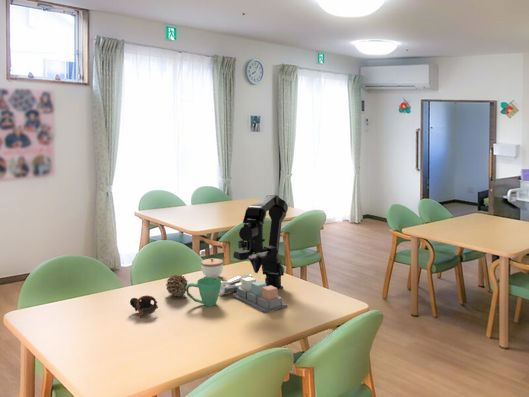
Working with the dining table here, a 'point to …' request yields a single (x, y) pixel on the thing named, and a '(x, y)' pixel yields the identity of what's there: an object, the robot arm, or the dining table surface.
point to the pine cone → (176, 285)
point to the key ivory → (247, 283)
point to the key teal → (257, 287)
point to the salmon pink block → (269, 292)
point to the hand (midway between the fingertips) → (256, 272)
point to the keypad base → (259, 301)
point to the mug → (206, 290)
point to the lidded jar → (212, 267)
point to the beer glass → (232, 284)
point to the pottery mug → (144, 305)
